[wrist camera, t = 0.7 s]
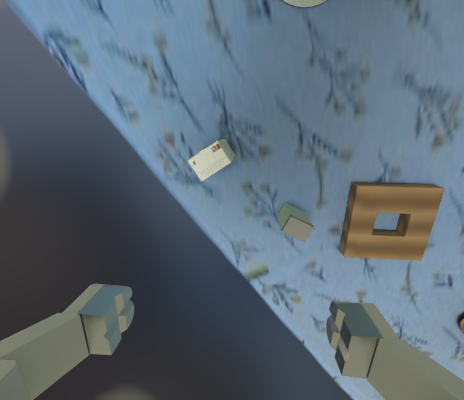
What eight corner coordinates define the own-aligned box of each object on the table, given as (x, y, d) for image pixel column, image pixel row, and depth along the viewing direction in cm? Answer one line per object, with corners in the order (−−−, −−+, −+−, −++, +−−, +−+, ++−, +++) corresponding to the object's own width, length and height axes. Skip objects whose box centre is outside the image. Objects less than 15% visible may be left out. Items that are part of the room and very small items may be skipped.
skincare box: (212, 170, 48) (201, 184, 37) (200, 152, 47) (185, 161, 36) (236, 154, 47) (232, 164, 36) (225, 135, 46) (217, 139, 34)
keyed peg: (284, 202, 49) (291, 216, 42) (304, 212, 50) (314, 227, 42) (276, 215, 51) (281, 231, 43) (296, 225, 51) (304, 242, 43)
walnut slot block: (351, 182, 47) (357, 185, 44) (432, 184, 46) (444, 188, 43) (338, 249, 52) (344, 256, 49) (411, 252, 51) (421, 260, 48)
